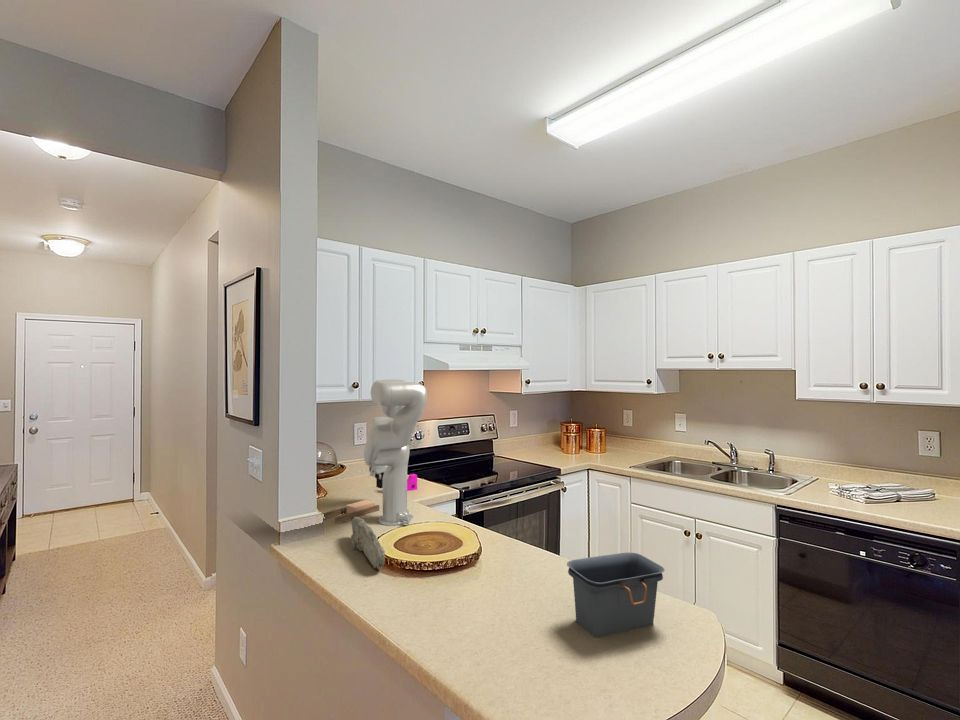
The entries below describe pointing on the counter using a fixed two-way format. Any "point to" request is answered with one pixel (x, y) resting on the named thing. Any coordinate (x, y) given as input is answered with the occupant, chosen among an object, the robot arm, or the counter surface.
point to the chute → (350, 515)
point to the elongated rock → (367, 542)
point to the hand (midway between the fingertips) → (380, 487)
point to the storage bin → (614, 592)
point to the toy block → (412, 482)
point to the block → (359, 506)
